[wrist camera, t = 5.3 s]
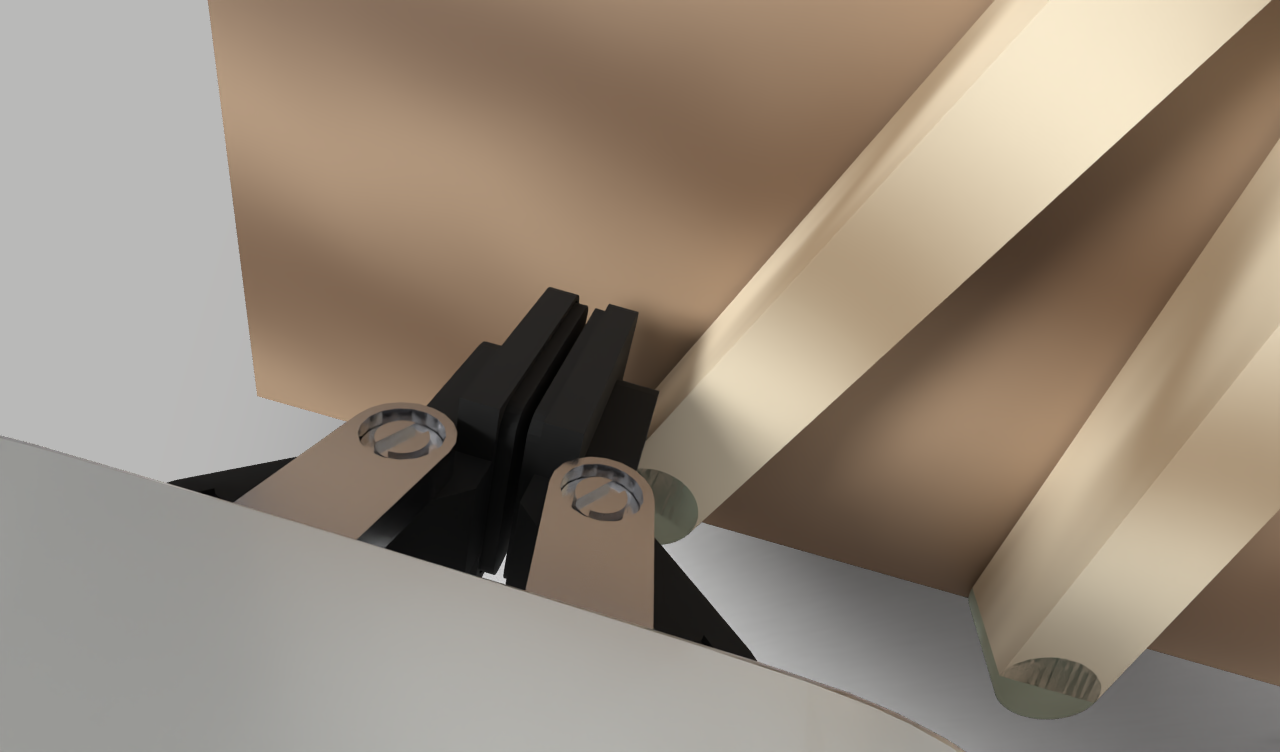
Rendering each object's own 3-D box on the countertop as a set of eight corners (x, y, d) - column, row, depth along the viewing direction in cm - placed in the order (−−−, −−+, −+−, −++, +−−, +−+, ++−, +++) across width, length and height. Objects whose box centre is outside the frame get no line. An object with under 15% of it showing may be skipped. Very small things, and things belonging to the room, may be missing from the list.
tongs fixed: (1549, -466, 7) (2010, -735, 4) (1871, -405, 7) (2553, -649, 4) (901, 599, 15) (924, 722, 13) (1034, 637, 15) (1084, 769, 13)
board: (228, -737, 9) (94, -910, 7) (2230, -369, 8) (2653, -471, 6) (308, 356, 18) (257, 395, 16) (1230, 613, 16) (1281, 686, 15)
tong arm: (1697, -806, 6) (2132, -1181, 4) (1948, -435, 6) (2425, -606, 5) (609, 441, 15) (583, 509, 13) (762, 544, 15) (758, 623, 13)
